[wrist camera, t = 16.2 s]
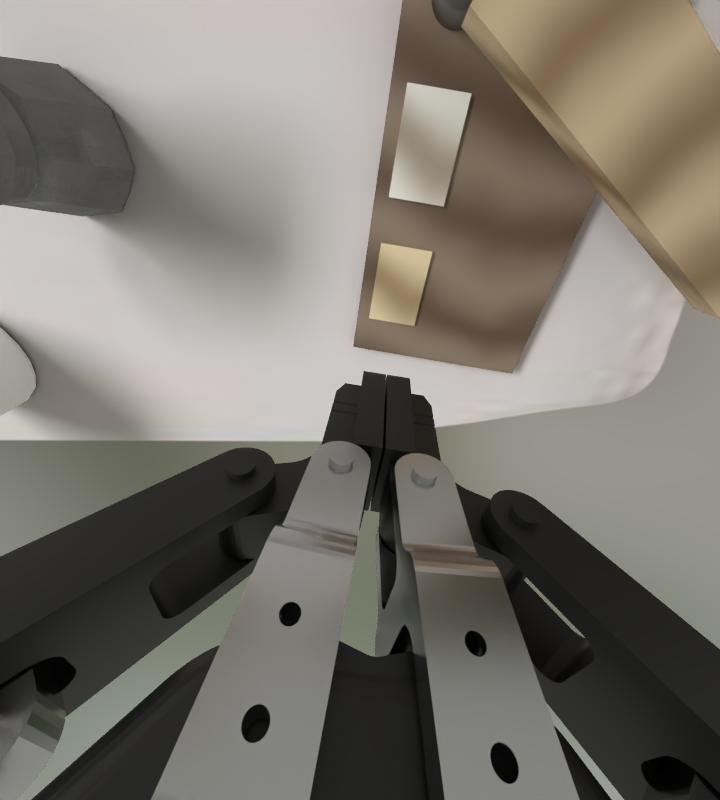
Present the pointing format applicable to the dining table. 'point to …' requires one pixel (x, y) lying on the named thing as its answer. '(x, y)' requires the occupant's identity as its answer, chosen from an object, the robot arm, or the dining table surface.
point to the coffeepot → (58, 143)
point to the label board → (462, 204)
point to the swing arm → (625, 114)
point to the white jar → (14, 374)
